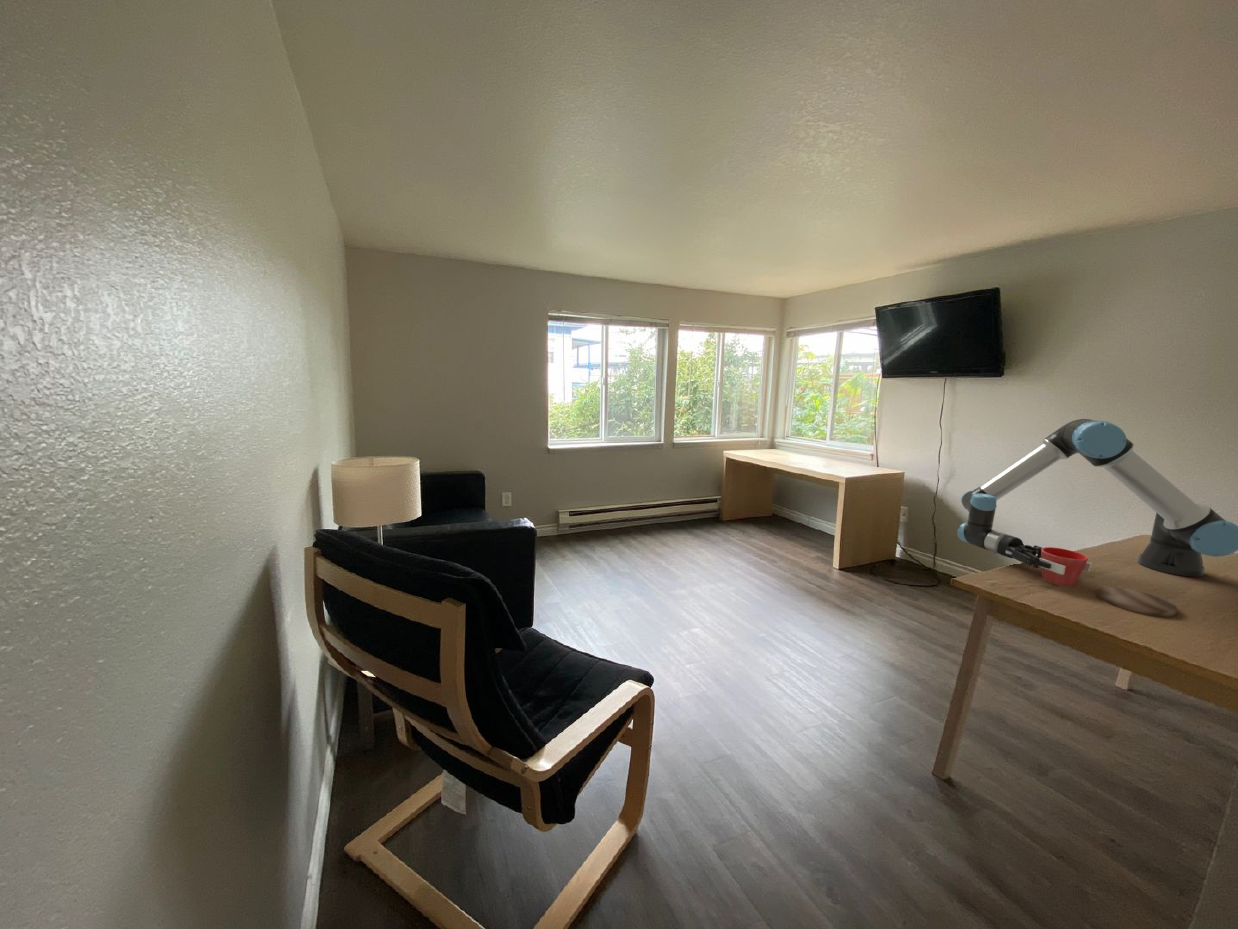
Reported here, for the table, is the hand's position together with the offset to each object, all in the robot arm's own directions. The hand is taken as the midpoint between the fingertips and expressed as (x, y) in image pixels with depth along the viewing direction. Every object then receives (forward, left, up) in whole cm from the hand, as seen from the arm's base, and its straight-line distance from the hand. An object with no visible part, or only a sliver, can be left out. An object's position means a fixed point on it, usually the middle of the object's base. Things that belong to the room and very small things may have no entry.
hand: (1077, 569), depth 148 cm
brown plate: (-9, +9, -6) cm, 14 cm away
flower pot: (+1, -4, -6) cm, 7 cm away
